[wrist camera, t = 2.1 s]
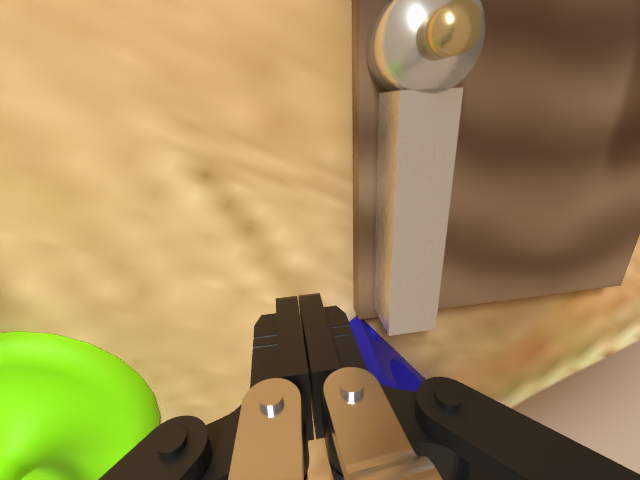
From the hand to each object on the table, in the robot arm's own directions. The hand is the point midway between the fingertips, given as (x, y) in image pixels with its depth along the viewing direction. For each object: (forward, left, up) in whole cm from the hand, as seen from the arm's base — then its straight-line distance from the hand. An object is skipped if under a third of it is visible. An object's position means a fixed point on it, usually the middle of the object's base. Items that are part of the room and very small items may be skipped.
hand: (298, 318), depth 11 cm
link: (-3, +7, -9) cm, 11 cm away
